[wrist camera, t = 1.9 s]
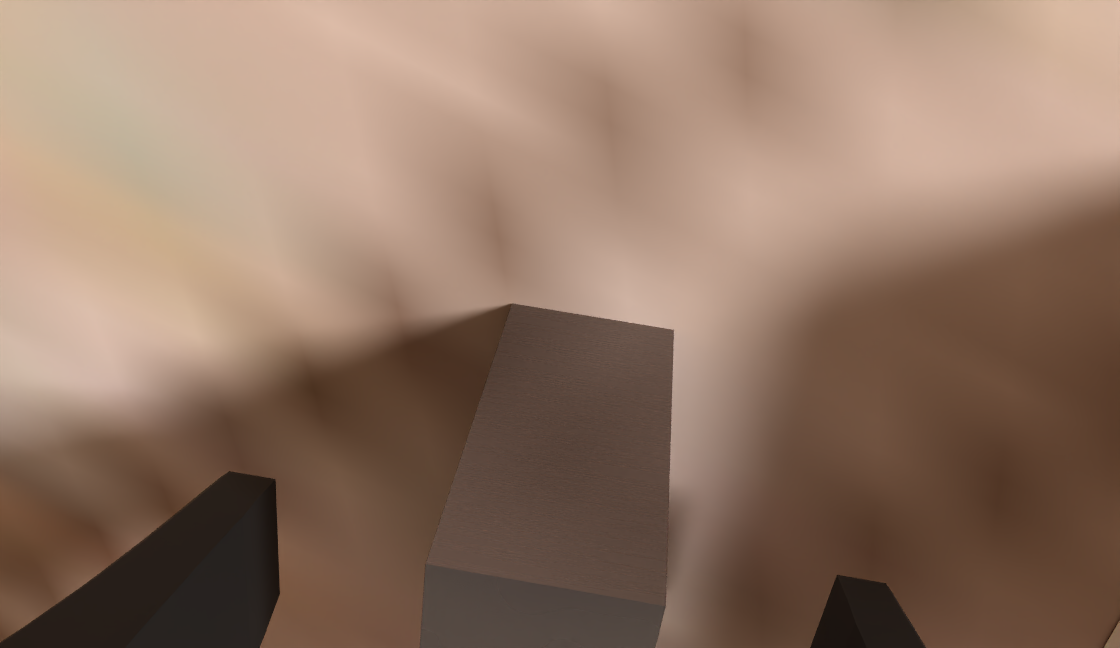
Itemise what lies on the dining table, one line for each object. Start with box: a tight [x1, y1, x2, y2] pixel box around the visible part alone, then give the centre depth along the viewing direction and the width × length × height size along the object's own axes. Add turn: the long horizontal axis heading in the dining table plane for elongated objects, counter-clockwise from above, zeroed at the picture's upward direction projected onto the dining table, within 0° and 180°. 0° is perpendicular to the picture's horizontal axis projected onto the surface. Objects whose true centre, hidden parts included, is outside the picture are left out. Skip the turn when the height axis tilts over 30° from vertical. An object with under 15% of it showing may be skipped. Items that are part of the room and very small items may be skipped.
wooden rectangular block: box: [420, 304, 674, 648], centre depth 12 cm, size 6×2×5 cm, turn 173°
